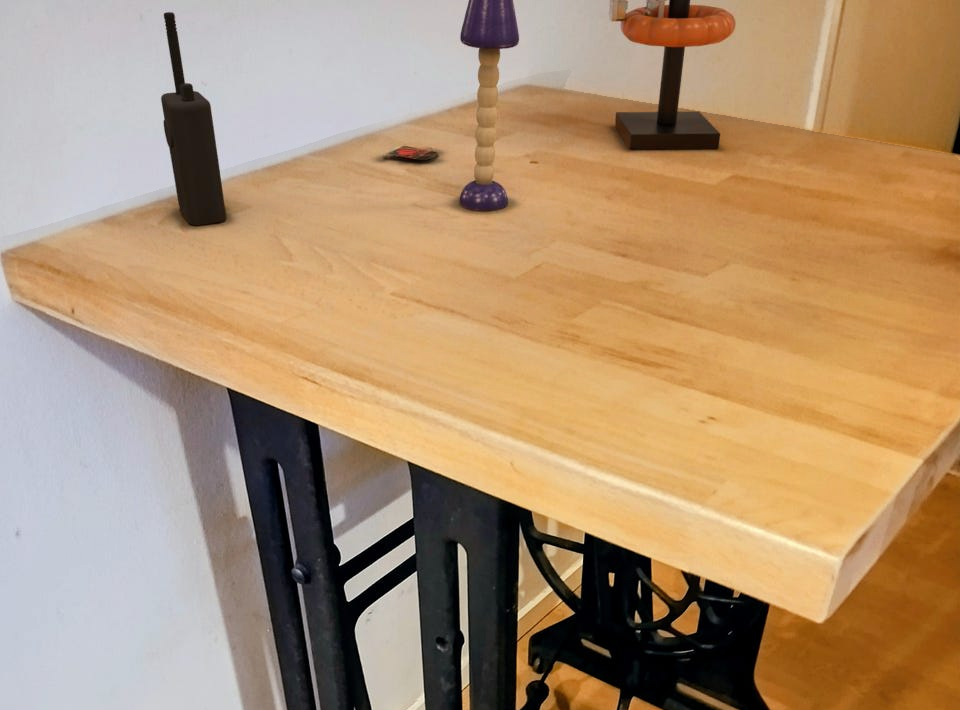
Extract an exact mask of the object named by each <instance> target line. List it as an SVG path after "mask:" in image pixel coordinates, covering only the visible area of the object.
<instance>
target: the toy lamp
mask: <svg viewBox="0 0 960 710" xmlns="http://www.w3.org/2000/svg"><path fill="white" fill-rule="evenodd" d="M460 30H461V31H460V36H459V39H460V42H461V43H462V45H465V46H467V47H470V48H474V49H478V53H477V54H478V61H479V67H478V70H477V81H478V83H479V86H478V89H477V95H476V98H477V102H478V106H477V109H476V115H475V116H476V117H475V118H476V122H477V127H476V131H475V141H476V144H477V145H476V147H475V150H474V160H475V163H476V164H475V166H474V168H473V169H474V170H473V171H474V172H473V177H474V180H472V181H470V182H468V183H467V184H466V185H465V186H464V187H463V188H462V190H461V192H460V194H459V199H458V202H459V204H460V205H461V206H462V207H464V208H466V209H468V210H473V211H481V212H486V211H487V212H489V211H498V210H502V209H504V208H506V207H508V205H509V197H508V194H507V192H506V189H505V188H504V186H503V185H502V184H500V183H499V182H497V181H495V180H494V176H495V168H494V162H495V158H496V148H495V146H494V145H495V143H496V140H497V129H496V124H497V122H498V114H499V113H498V108H497V103H498V101H499V88H498V87H497V86H498V83H499V80H500V69H499V66H498V65H499V63H500V59H501V50H502V49H503V50H504V49H510V48H511V49H512V48H515V47H517V46H518V45H519V42H520V33H519V27H518V22H517V15H516V9H515V4H514V0H468V1H467V7H466V11H465V13H464V19H463V22H462V26H461V29H460Z"/></svg>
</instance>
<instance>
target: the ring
mask: <svg viewBox="0 0 960 710" xmlns="http://www.w3.org/2000/svg"><path fill="white" fill-rule="evenodd" d="M668 8H669V4H665V6H664V16H663V18H655V17H649V16H645V11H646V10H647V7H646V6H642V7H637V8H635V9H633V10H630V11H628V12H626V14H627V18H626V21H620V30H621V33H622V34H623V36H624V37H625V38H627V40H628V41H630V42H632V43H634V44H640V45H645V46H651V47H663V48H664V47H685V48H686V47H687V48H688V47H689V48H691V47H692V48H693V47H703V46H709V45H714V44H719V43H721V42H723V41H725V40H726V39H728V38H729V37H731V36H732V35H733V33H734V32H735V29H736V24H737V23H736V19H735V17H734V15H733V14H732V13H731V12H729V11H727V10H725V9H724V8H721V7H716V6H710V5H705V4H704V5H703V4H690V8H689V16H688V18H680V19H674V18H668Z"/></svg>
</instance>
